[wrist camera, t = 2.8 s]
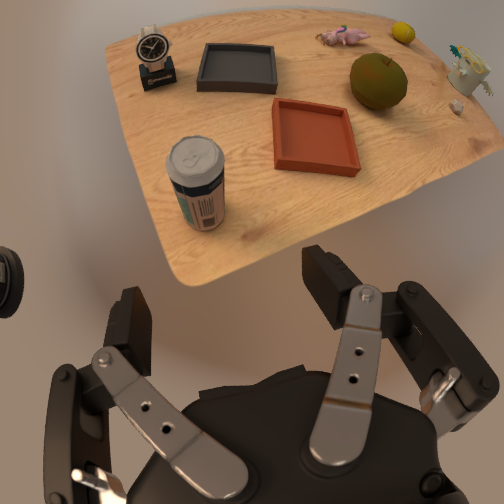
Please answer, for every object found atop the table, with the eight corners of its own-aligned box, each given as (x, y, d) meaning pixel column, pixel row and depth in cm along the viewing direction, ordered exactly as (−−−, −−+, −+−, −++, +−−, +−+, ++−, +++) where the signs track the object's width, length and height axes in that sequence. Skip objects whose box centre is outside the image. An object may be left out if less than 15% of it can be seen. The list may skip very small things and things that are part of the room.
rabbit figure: (326, 54, 44) (375, 46, 44) (330, 34, 38) (381, 29, 38) (310, 40, 45) (358, 33, 45) (312, 21, 39) (363, 16, 40)
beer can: (231, 203, 32) (234, 142, 20) (213, 238, 30) (206, 189, 19) (195, 188, 32) (182, 124, 20) (177, 222, 31) (151, 168, 19)
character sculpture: (425, 58, 49) (445, 29, 36) (445, 64, 51) (464, 39, 38) (467, 110, 45) (494, 82, 32) (483, 112, 47) (507, 88, 34)
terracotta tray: (274, 169, 33) (277, 159, 31) (271, 108, 36) (274, 97, 34) (354, 177, 34) (361, 169, 32) (341, 117, 37) (346, 108, 35)
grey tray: (197, 91, 36) (196, 81, 34) (206, 52, 39) (205, 43, 37) (275, 94, 37) (277, 84, 35) (272, 55, 40) (273, 46, 38)
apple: (399, 111, 40) (427, 73, 29) (374, 127, 37) (404, 83, 27) (360, 77, 41) (381, 37, 30) (331, 88, 39) (351, 42, 28)
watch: (145, 98, 35) (130, 45, 25) (141, 72, 37) (129, 25, 26) (179, 88, 36) (171, 34, 25) (171, 63, 38) (164, 15, 27)
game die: (451, 112, 43) (457, 105, 40) (446, 102, 44) (452, 95, 41) (460, 118, 43) (467, 111, 40) (456, 107, 44) (462, 101, 41)
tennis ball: (384, 33, 50) (392, 16, 43) (396, 33, 51) (404, 18, 44) (402, 47, 49) (411, 30, 42) (413, 47, 50) (422, 32, 43)
